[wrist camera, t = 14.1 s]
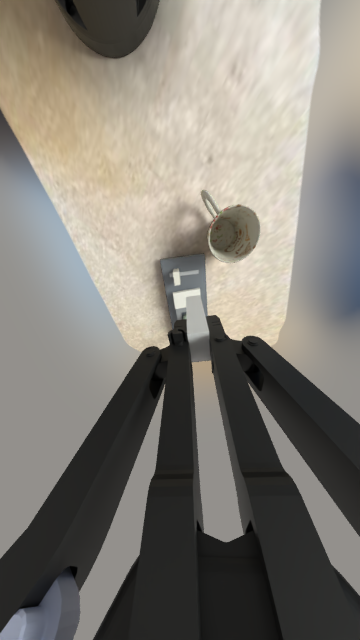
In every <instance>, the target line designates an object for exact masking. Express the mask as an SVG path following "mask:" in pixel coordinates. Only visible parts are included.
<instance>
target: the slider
mask: <svg viewBox="0 0 360 640" xmlns="http://www.w3.org/2000/svg"><path fill="white" fill-rule="evenodd" d="M173 277H174V284H175V286H176V285H180V282H181V280H180V272H179V268H177V269H174V270H173Z"/></svg>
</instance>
